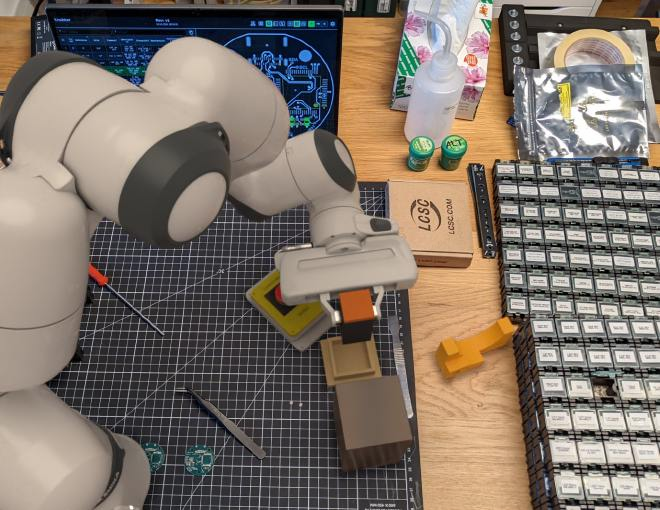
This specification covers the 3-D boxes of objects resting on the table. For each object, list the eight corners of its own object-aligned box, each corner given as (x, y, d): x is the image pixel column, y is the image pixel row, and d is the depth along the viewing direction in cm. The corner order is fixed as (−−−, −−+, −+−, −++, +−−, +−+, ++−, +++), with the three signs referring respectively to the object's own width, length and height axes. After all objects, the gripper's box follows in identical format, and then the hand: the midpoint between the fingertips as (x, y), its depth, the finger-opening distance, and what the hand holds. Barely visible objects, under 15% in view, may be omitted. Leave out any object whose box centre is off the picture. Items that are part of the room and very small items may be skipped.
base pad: (327, 387, 101) (327, 381, 99) (320, 342, 105) (320, 335, 103) (381, 379, 102) (383, 373, 100) (372, 334, 106) (373, 327, 103)
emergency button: (281, 251, 109) (341, 308, 104) (282, 263, 113) (340, 318, 107) (240, 284, 106) (300, 344, 100) (243, 295, 109) (301, 354, 104)
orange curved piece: (446, 378, 102) (453, 365, 97) (434, 355, 104) (441, 341, 99) (509, 354, 105) (520, 339, 99) (497, 331, 107) (507, 316, 101)
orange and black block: (342, 345, 91) (344, 321, 83) (337, 318, 93) (339, 293, 85) (370, 340, 91) (375, 316, 84) (365, 314, 94) (369, 288, 86)
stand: (342, 472, 95) (345, 450, 81) (332, 414, 99) (334, 384, 85) (399, 463, 96) (413, 439, 82) (387, 406, 100) (398, 374, 86)
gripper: (270, 237, 90) (282, 324, 84) (407, 219, 92) (429, 302, 86) (273, 258, 96) (285, 341, 89) (402, 240, 98) (423, 320, 91)
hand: (357, 322), depth 88 cm, fingers closed on orange and black block, 4 cm apart
